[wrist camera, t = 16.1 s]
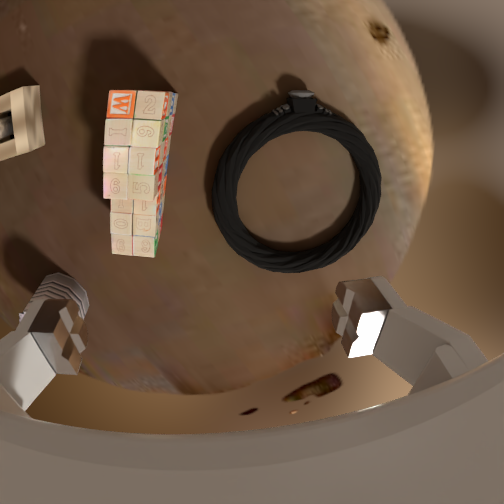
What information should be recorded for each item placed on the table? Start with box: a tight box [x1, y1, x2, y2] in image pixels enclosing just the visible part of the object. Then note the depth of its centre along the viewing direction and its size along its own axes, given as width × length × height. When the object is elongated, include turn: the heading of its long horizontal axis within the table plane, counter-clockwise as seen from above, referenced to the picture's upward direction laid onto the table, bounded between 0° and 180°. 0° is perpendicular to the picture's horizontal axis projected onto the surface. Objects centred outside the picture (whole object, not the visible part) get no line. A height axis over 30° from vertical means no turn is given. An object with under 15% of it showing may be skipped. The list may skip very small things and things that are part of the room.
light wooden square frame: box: [0, 85, 45, 161], centre depth 31 cm, size 10×10×5 cm
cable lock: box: [212, 90, 381, 273], centre depth 45 cm, size 28×4×30 cm
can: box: [19, 272, 89, 322], centre depth 45 cm, size 11×11×12 cm
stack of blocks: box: [103, 90, 178, 257], centre depth 35 cm, size 21×6×12 cm, turn 169°
